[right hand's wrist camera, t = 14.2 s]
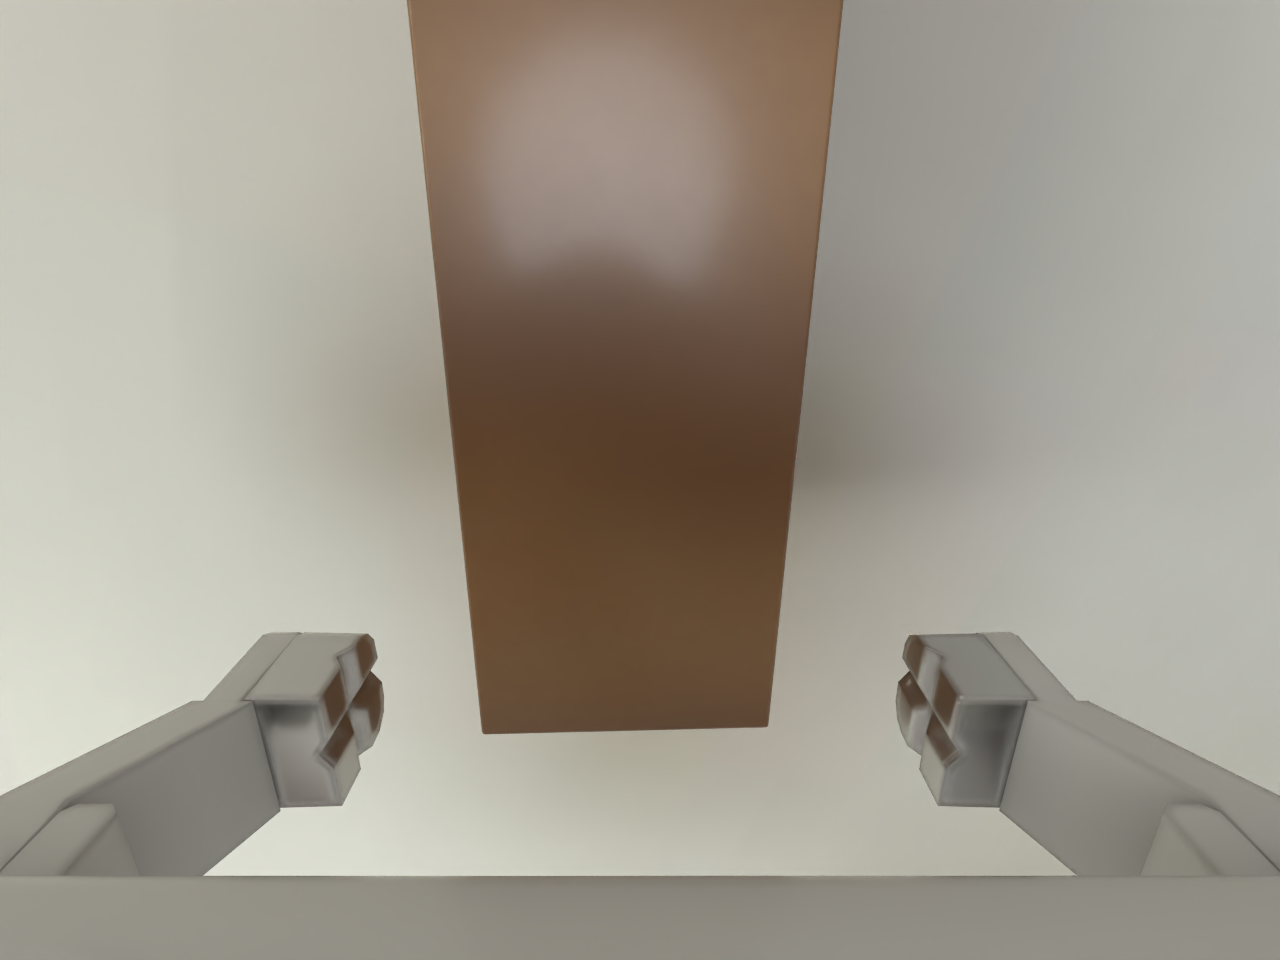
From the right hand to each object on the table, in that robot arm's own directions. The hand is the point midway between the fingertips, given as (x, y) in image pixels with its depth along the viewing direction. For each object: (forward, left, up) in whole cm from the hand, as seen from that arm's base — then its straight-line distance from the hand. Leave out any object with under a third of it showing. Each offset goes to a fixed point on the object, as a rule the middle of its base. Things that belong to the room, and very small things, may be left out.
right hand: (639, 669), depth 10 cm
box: (+9, -4, -14) cm, 17 cm away
